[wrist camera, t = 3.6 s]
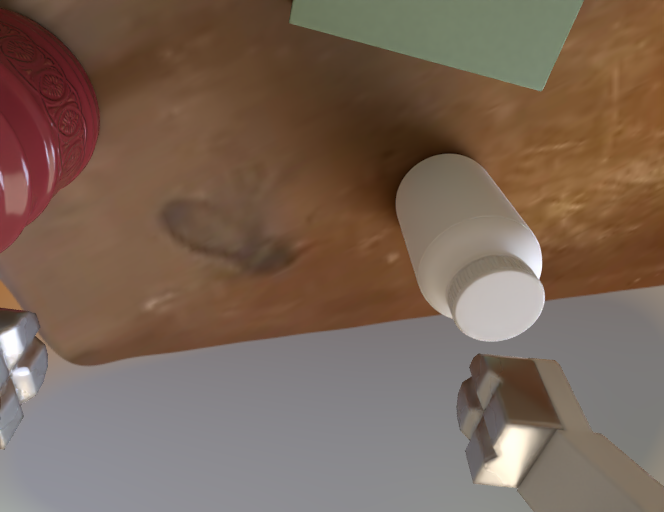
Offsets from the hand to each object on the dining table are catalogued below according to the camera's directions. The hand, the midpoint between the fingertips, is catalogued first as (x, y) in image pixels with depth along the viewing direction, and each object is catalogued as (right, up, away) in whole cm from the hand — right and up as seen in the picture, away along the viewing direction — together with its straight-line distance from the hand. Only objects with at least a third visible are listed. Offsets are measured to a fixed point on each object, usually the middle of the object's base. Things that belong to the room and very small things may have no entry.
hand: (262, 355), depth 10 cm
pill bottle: (+10, +7, +32) cm, 34 cm away
